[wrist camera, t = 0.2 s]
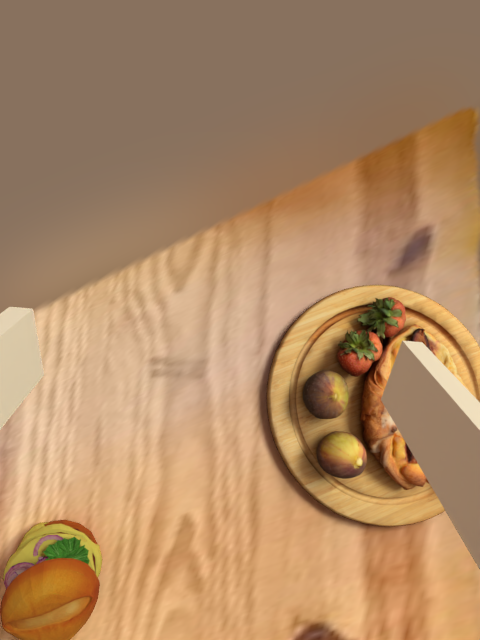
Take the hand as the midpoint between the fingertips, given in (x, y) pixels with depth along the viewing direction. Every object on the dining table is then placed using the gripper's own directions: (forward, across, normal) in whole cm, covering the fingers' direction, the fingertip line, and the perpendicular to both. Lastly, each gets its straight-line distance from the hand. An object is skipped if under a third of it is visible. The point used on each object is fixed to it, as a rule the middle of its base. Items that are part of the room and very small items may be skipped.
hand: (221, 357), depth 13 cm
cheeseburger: (+15, +16, +41) cm, 46 cm away
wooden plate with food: (+28, -23, +23) cm, 43 cm away
